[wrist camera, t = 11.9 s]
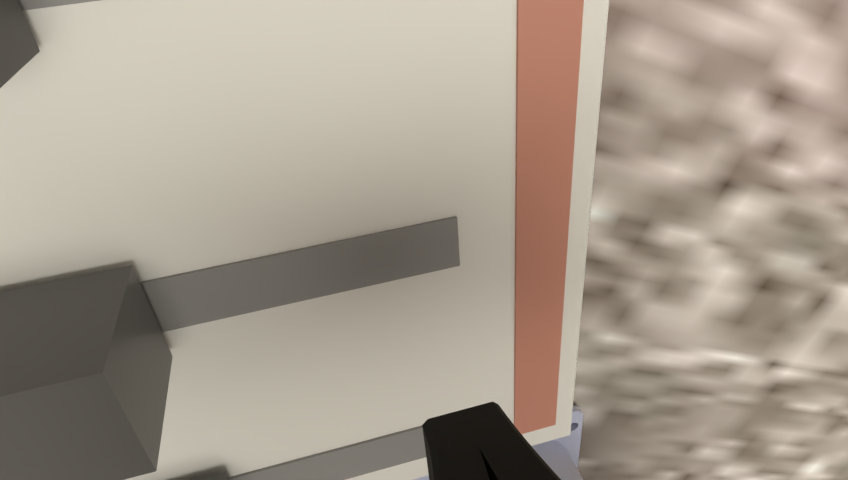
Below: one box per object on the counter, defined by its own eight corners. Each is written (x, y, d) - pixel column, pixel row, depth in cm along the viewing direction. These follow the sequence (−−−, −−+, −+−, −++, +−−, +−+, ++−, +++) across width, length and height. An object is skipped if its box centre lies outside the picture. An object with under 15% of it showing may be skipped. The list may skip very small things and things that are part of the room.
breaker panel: (538, 378, 25) (624, 529, 19) (31, 512, 22) (-44, 740, 16) (560, -213, 14) (779, -266, 8) (-476, -127, 10) (-1305, -114, 5)
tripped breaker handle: (172, 356, 16) (156, 471, 13) (8, 393, 15) (-49, 524, 12) (132, 265, 14) (102, 373, 11) (-55, 302, 13) (-140, 429, 10)
